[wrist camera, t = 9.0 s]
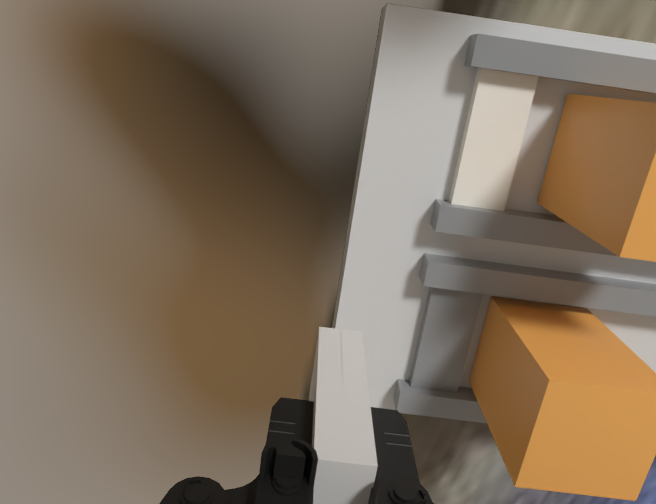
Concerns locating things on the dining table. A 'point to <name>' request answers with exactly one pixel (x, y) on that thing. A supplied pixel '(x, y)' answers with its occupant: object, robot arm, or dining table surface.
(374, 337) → the switch board
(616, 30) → the dining table surface
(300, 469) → the robot arm
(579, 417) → the tab
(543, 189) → the orange block
